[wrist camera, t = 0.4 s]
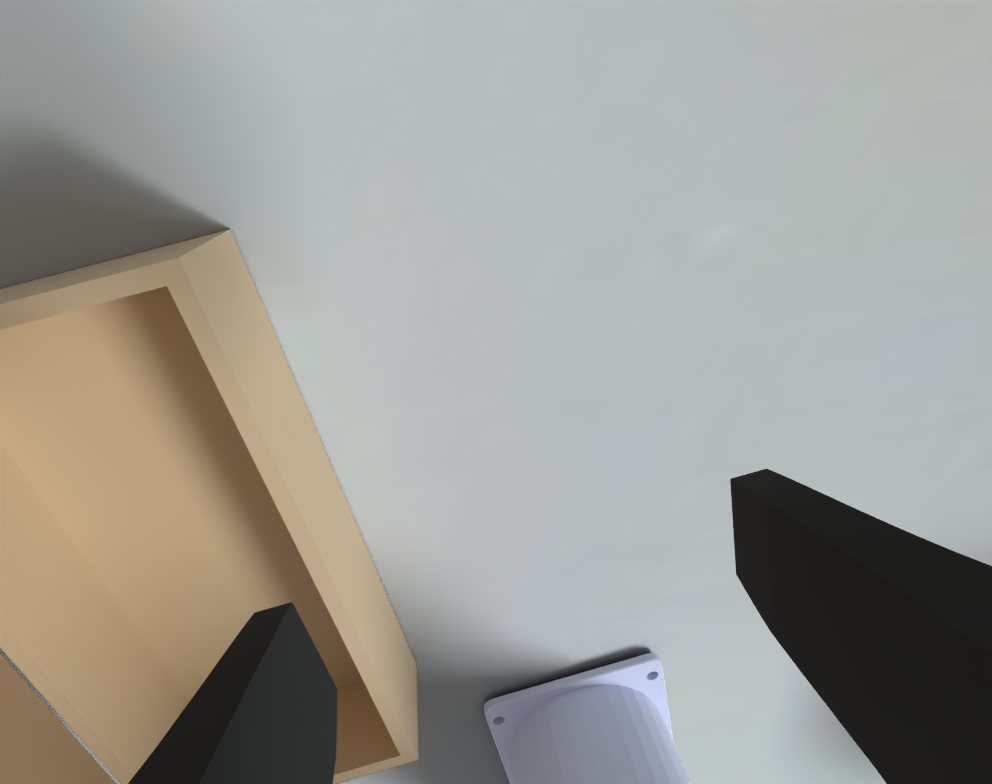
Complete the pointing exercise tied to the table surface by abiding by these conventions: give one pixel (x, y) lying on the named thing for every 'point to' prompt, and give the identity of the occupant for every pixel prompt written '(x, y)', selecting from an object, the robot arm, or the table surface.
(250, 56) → the table surface
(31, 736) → the lid flap
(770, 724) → the table surface
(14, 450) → the carton
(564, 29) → the table surface
